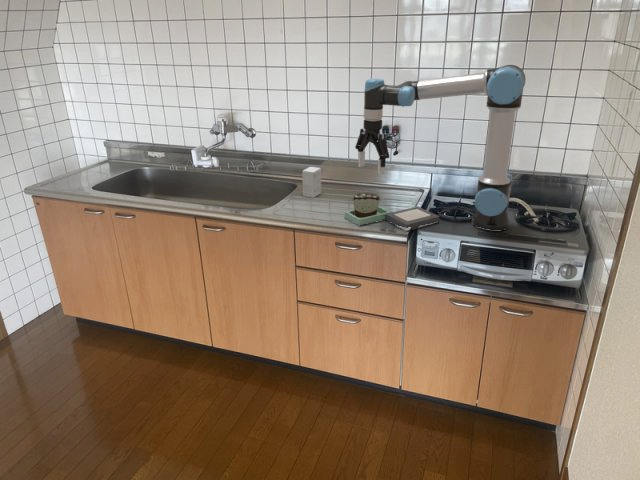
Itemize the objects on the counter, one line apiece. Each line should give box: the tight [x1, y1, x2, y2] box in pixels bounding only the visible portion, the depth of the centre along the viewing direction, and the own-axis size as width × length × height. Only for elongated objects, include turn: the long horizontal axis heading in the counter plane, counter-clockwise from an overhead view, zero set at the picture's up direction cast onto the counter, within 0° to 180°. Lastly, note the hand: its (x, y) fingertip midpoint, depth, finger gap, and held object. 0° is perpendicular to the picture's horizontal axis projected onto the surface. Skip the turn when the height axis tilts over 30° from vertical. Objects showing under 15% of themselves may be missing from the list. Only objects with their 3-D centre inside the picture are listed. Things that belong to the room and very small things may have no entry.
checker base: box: [384, 206, 440, 231], centre depth 212 cm, size 14×18×4 cm
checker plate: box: [394, 209, 431, 222], centre depth 212 cm, size 9×13×1 cm
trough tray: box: [344, 205, 392, 226], centre depth 216 cm, size 11×17×3 cm, turn 121°
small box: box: [301, 166, 322, 198], centre depth 242 cm, size 8×6×13 cm
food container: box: [351, 191, 381, 218], centre depth 216 cm, size 12×6×10 cm, turn 89°
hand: (371, 170), depth 208 cm, fingers open, 13 cm apart
